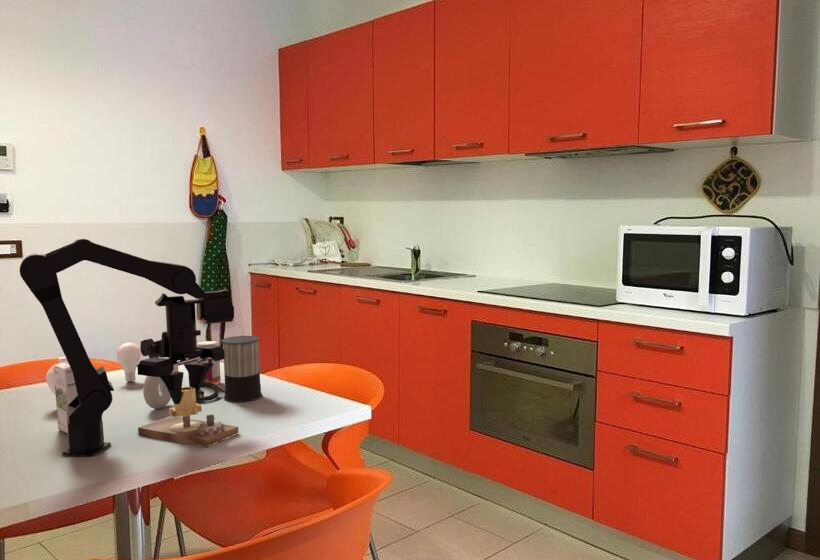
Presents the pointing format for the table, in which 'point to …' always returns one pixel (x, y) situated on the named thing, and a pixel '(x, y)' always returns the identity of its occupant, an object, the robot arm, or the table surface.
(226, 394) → the milk frother
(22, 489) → the table surface
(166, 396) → the donut
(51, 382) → the spinning top
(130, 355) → the lightbulb
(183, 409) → the brass gear
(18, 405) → the table surface
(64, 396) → the syrup box
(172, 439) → the board
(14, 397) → the table surface
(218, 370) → the pill bottle
